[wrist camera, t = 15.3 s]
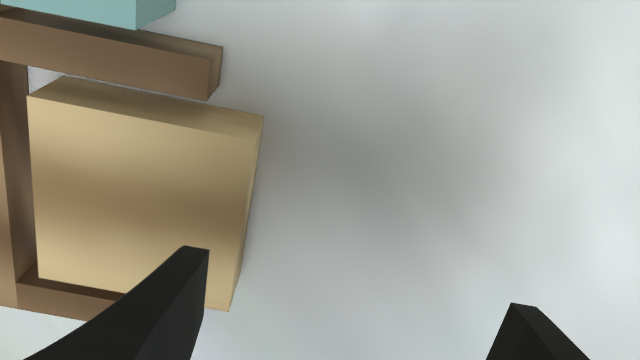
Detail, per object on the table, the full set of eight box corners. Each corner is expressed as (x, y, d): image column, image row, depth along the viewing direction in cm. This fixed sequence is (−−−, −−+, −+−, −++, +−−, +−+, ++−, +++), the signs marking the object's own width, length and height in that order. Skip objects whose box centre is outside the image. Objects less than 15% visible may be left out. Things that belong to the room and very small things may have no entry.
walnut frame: (195, 309, 25) (183, 338, 23) (10, 275, 25) (-16, 302, 23) (246, -174, 16) (233, -185, 14) (-43, -238, 16) (-93, -258, 14)
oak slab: (241, 269, 24) (228, 312, 22) (72, 238, 24) (38, 277, 21) (265, 112, 21) (253, 140, 18) (68, 73, 20) (26, 95, 18)
